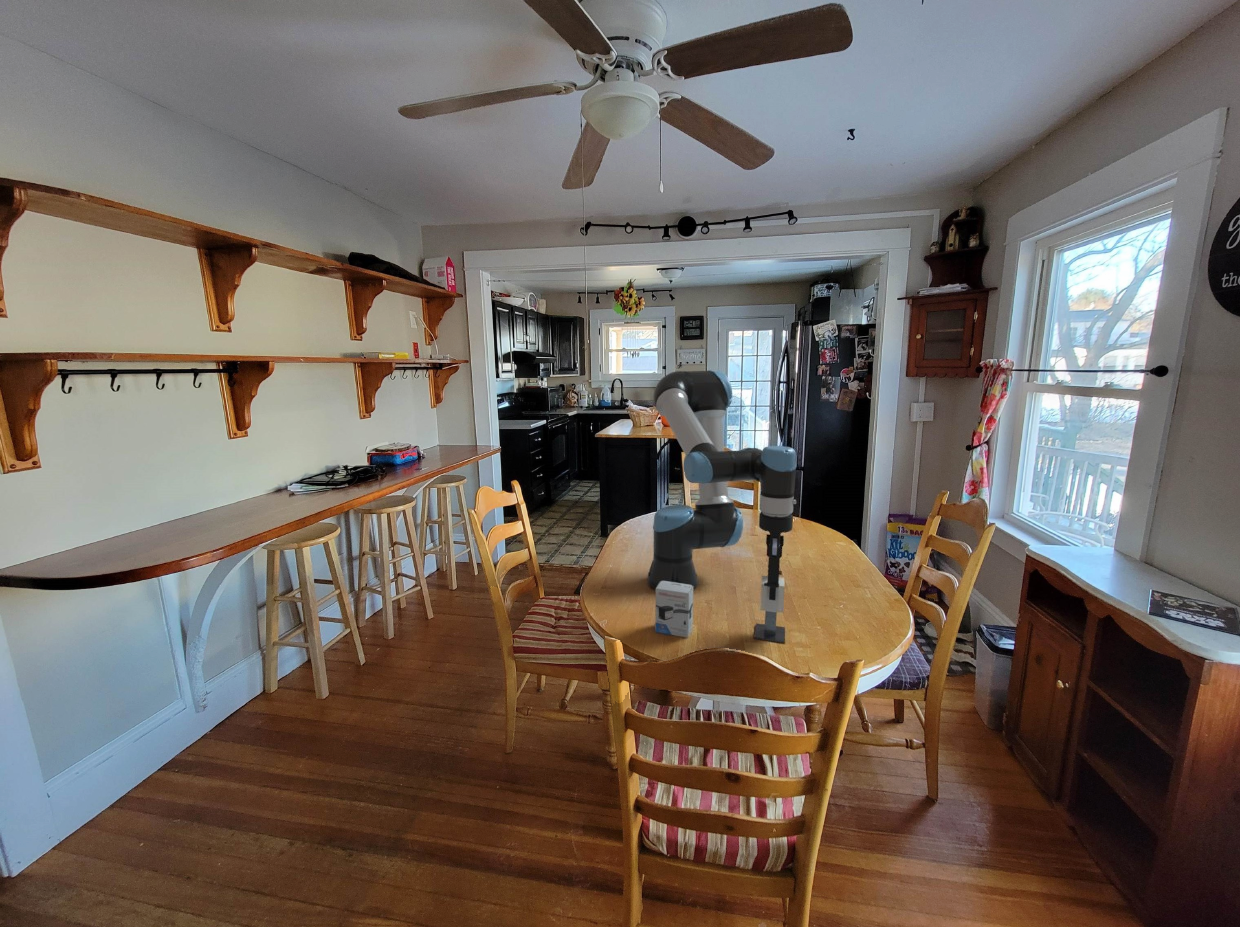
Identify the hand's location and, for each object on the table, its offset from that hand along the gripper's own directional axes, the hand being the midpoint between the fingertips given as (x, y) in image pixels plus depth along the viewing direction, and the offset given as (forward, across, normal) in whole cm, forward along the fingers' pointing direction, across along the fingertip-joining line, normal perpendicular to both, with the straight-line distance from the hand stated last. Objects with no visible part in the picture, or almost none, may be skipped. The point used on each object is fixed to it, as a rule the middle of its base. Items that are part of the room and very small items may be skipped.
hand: (771, 605), depth 123 cm
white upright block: (0, 0, 0) cm, 0 cm away
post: (+8, 0, 0) cm, 8 cm away
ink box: (+8, -5, +23) cm, 25 cm away
